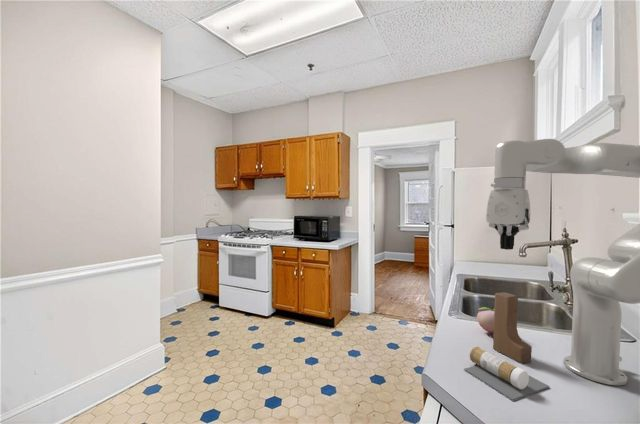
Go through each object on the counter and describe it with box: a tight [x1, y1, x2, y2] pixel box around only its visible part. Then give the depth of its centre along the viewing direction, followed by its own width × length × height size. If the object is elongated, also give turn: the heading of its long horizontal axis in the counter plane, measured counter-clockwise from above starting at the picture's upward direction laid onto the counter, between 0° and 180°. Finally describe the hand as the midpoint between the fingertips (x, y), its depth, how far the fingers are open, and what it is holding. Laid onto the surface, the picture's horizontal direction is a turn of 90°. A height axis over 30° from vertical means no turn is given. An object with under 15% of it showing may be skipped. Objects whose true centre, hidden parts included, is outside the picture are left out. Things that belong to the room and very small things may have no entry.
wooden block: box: [492, 291, 533, 364], centre depth 85 cm, size 9×4×18 cm, turn 20°
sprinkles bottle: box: [469, 346, 530, 390], centre depth 74 cm, size 5×5×13 cm
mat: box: [463, 364, 550, 402], centre depth 73 cm, size 14×13×1 cm
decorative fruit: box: [476, 305, 495, 335], centre depth 100 cm, size 9×8×10 cm
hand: (506, 248), depth 80 cm, fingers closed
